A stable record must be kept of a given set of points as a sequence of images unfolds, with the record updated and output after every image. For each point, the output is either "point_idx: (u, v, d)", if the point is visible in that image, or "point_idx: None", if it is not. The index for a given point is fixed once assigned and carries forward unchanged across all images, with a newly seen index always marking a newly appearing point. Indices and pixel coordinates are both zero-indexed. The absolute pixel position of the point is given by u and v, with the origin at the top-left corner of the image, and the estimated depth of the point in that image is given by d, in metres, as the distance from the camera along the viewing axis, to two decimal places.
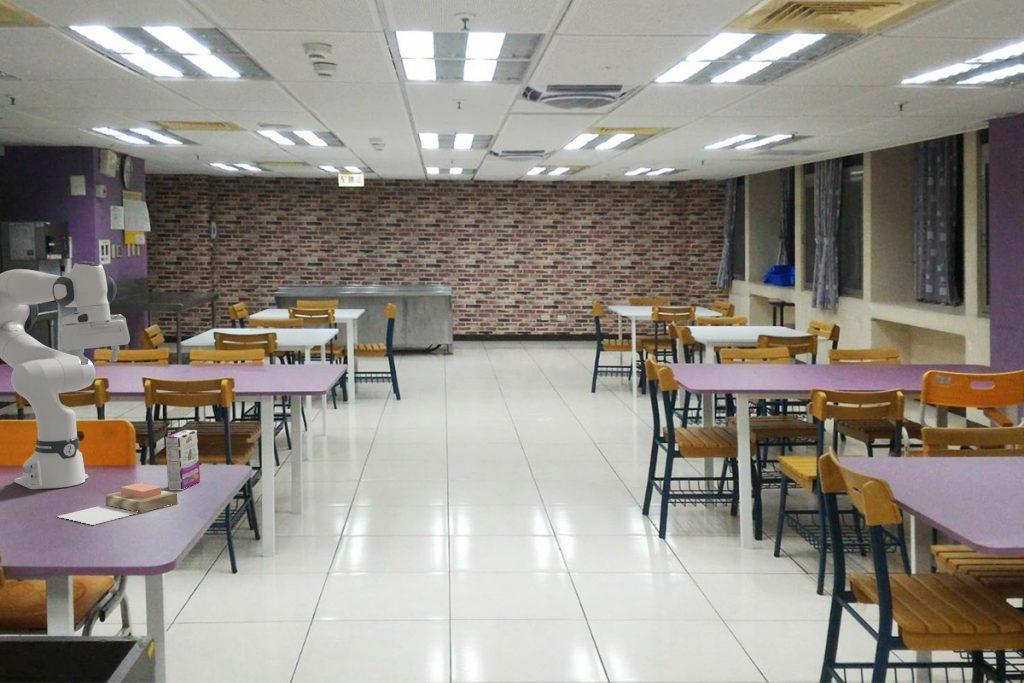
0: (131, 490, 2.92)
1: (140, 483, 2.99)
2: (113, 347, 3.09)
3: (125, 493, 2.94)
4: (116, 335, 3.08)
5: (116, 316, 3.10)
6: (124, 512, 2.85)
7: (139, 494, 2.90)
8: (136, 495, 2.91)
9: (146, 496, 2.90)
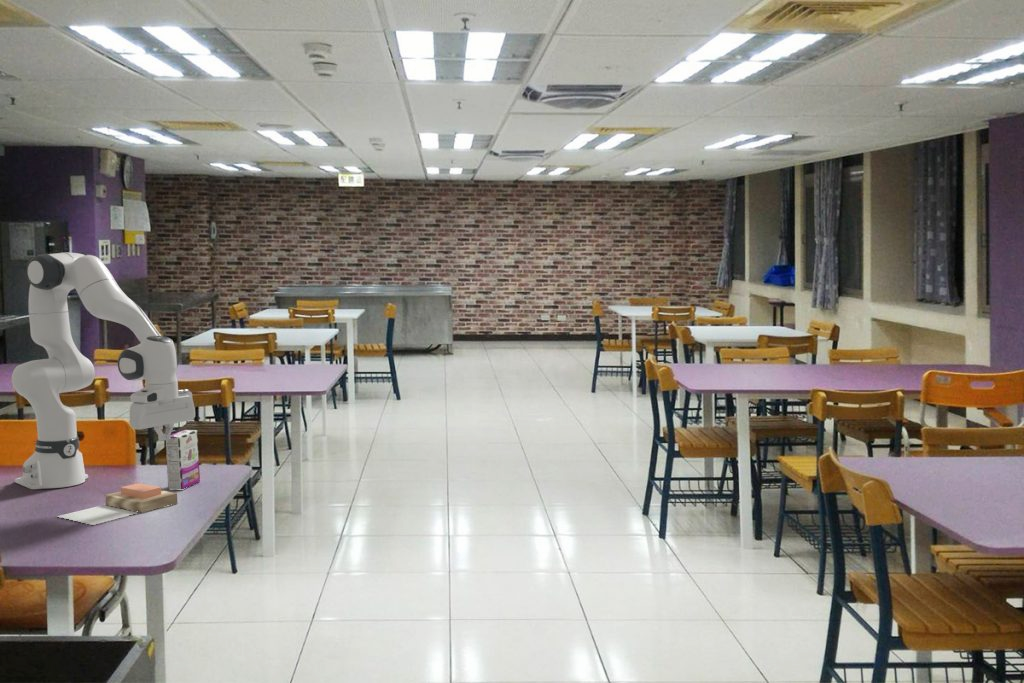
0: (131, 490, 2.92)
1: (140, 483, 2.99)
2: (167, 425, 3.01)
3: (125, 493, 2.94)
4: (182, 411, 3.03)
5: (183, 391, 3.05)
6: (124, 512, 2.85)
7: (139, 494, 2.90)
8: (136, 495, 2.91)
9: (146, 496, 2.90)
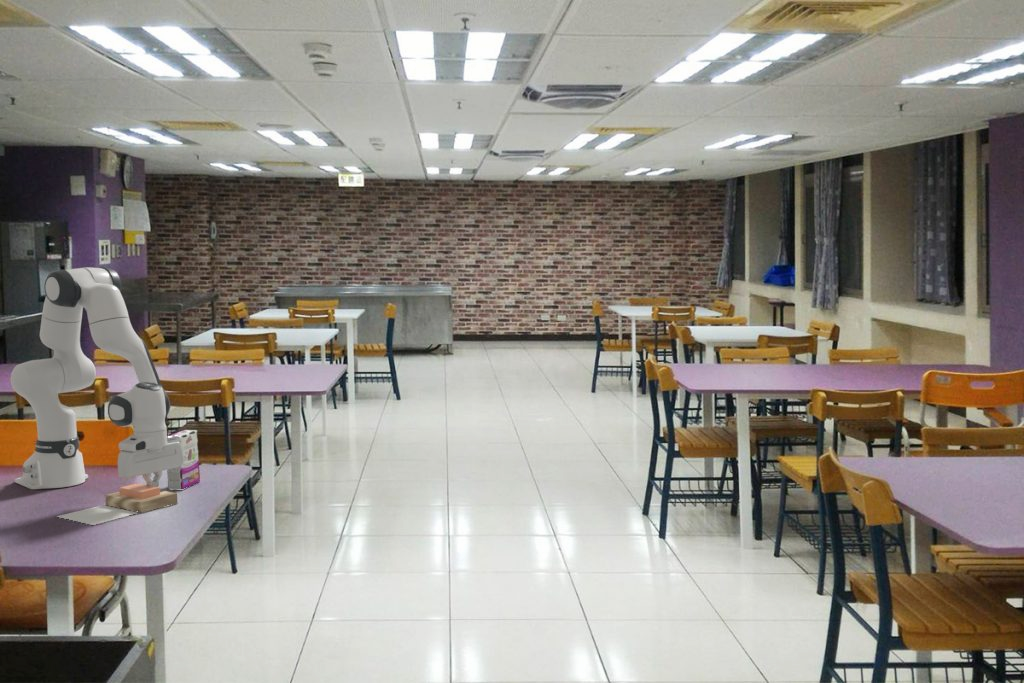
0: (130, 490, 2.92)
1: None
2: (155, 472, 2.98)
3: (124, 493, 2.93)
4: (171, 458, 3.01)
5: (172, 438, 3.02)
6: (124, 512, 2.85)
7: (138, 494, 2.90)
8: (135, 495, 2.91)
9: (145, 496, 2.90)
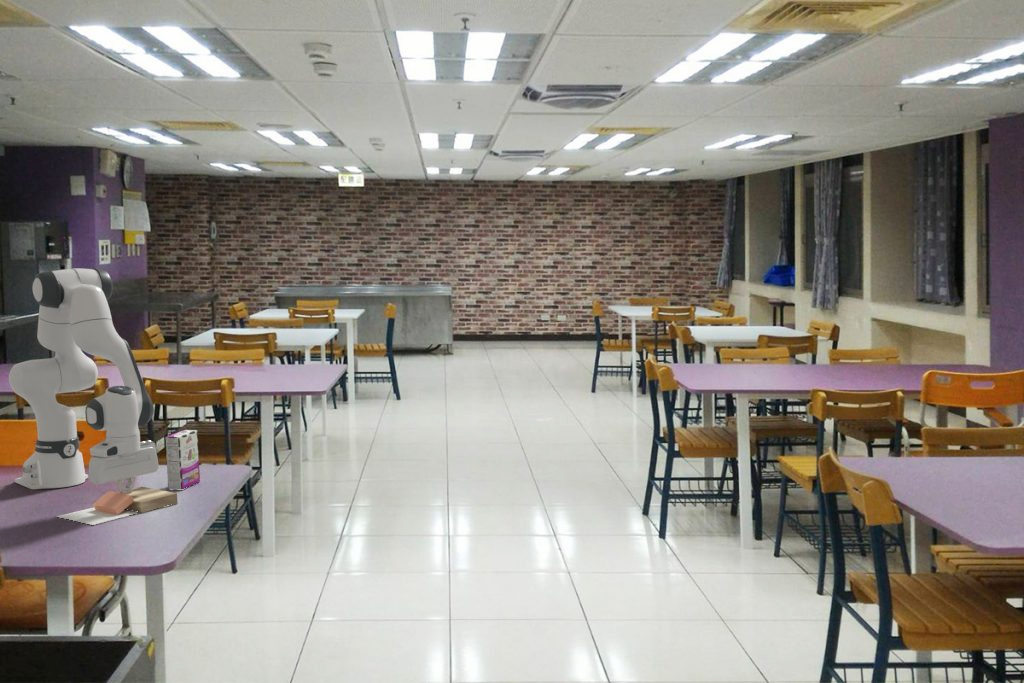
0: (103, 507, 2.85)
1: (110, 491, 2.91)
2: (128, 478, 2.91)
3: (99, 509, 2.87)
4: (144, 464, 2.93)
5: (146, 443, 2.95)
6: (124, 512, 2.85)
7: (112, 511, 2.83)
8: (110, 511, 2.84)
9: (120, 511, 2.83)
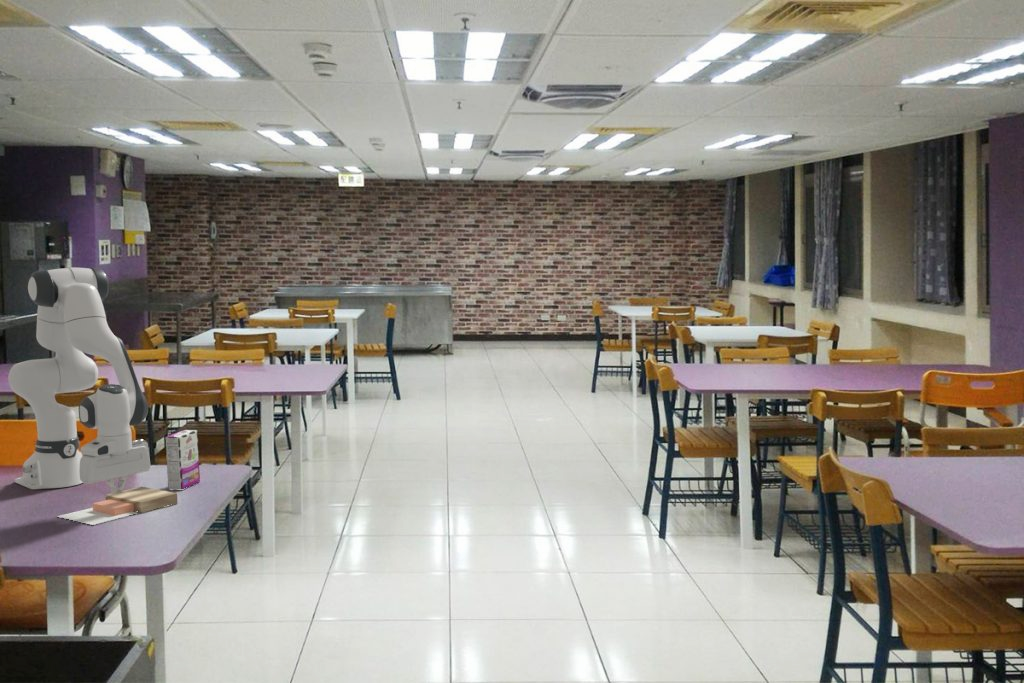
0: (103, 506, 2.85)
1: (113, 499, 2.92)
2: (120, 477, 2.89)
3: (97, 509, 2.87)
4: (136, 463, 2.91)
5: (138, 442, 2.93)
6: None
7: (111, 511, 2.83)
8: (108, 512, 2.84)
9: (118, 513, 2.83)
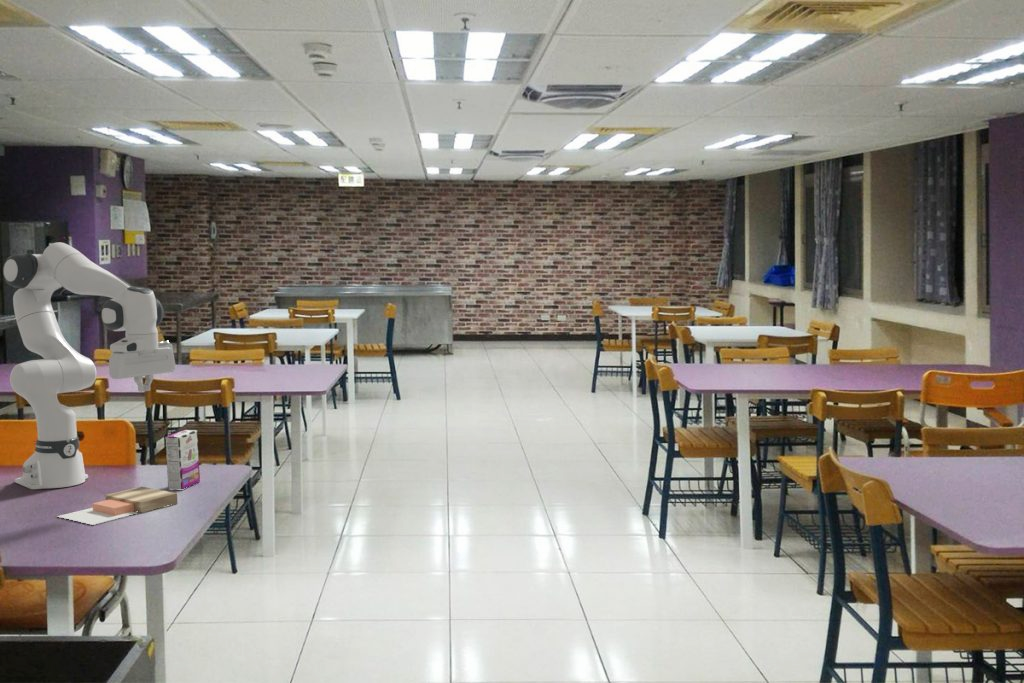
0: (103, 506, 2.85)
1: (113, 499, 2.92)
2: (147, 376, 3.02)
3: (97, 509, 2.87)
4: (162, 363, 3.04)
5: (163, 343, 3.05)
6: None
7: (111, 511, 2.83)
8: (108, 512, 2.84)
9: (118, 513, 2.83)
